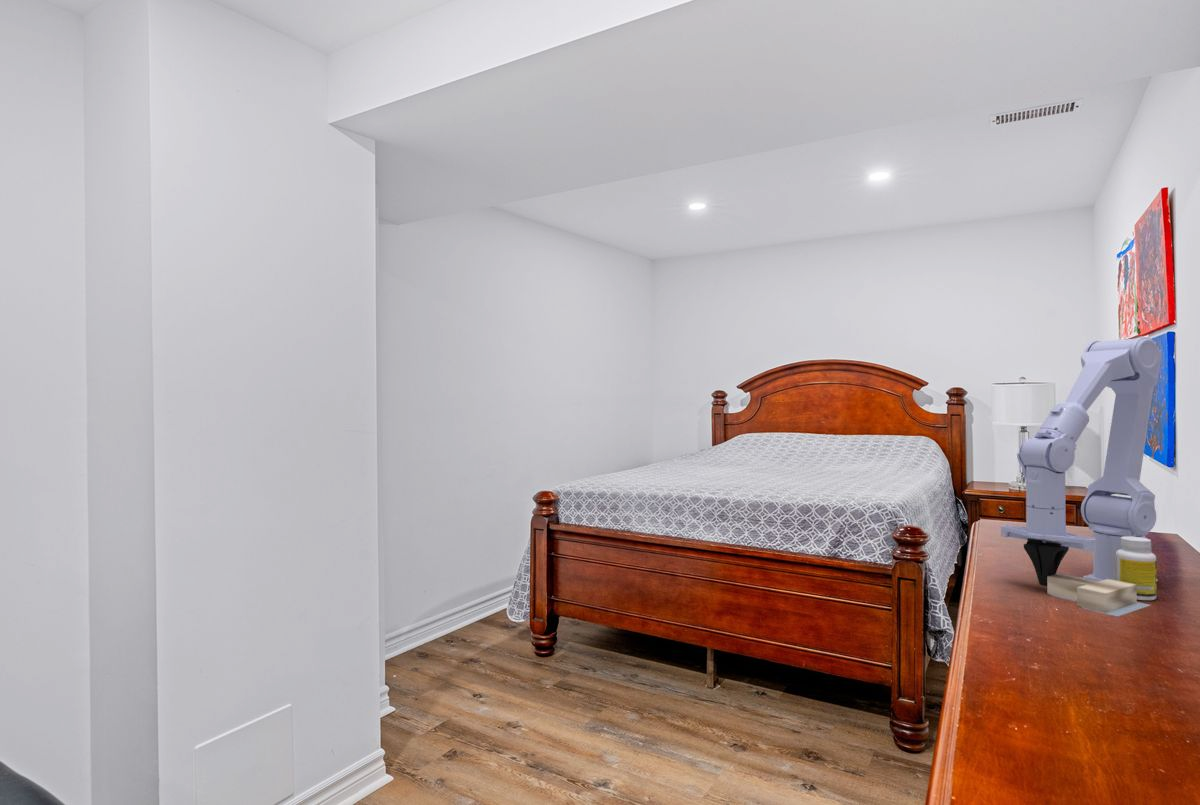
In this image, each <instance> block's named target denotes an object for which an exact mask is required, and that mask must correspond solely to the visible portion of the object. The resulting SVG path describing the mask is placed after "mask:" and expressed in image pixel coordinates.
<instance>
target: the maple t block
mask: <svg viewBox="0 0 1200 805" xmlns="http://www.w3.org/2000/svg"><path fill="white" fill-rule="evenodd" d="M1046 588H1047V590H1046V591H1047V595H1050V596H1051V595H1054V596H1058V597H1063V598H1067V599H1071V600H1076V601H1077V602H1076V606H1077V607H1078V608H1082V607H1083V608H1088V609H1092V610H1096V611H1100V612H1104V613H1106V612H1109V611H1113V610H1116V609H1119V608H1122V607H1125V606H1128V605H1131V604H1134V603H1137V602H1138V600H1137V586H1136V584H1132V583H1127V582H1122V581H1117V580H1112V579H1106V580H1102V581H1095V580H1090V579H1085V578H1083V577H1080V576H1075V575H1070V574H1066V573H1065V574H1064V573H1059V572H1058V573H1056V574H1055V575H1051V576H1047V586H1046ZM1054 596H1053V597H1054ZM1058 597H1057V598H1058ZM1067 599H1066V600H1067ZM1071 600H1070V601H1071ZM1083 608H1082V609H1083ZM1100 612H1099V613H1100ZM1104 613H1103V614H1104Z"/></svg>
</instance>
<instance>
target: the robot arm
mask: <svg viewBox="0 0 1200 805" xmlns="http://www.w3.org/2000/svg"><path fill="white" fill-rule="evenodd" d="M1083 351H1084V352H1083V353H1082V354H1081V356H1080V363H1081V366H1082V369H1081V371H1080V373H1079V374H1078V378H1076V381H1075V383H1074V385H1073V386H1072V389H1071V390H1070V392H1069V395H1068V397H1067V398H1066V400H1065V402H1063V403H1062V402H1061V403H1057V404H1055V405H1054V406H1053V407H1052V408H1051V409H1050V412H1049V413H1048V415H1047V417H1046V418H1045V420H1044V421H1043V423H1042V424H1041V426H1040V427H1039V429H1038V430H1037V432H1036V433H1035V435H1034V436H1033V437H1030V438H1028V439H1026V440H1025V441H1024V442H1023V443H1021V445H1020V447H1019V450H1018V452H1017V453H1016V456H1017V457H1016V459H1017V461H1018V463H1019V465H1020V467H1021V470H1022V476H1023V478H1024V479H1025V505H1026V506H1025V508H1026V511H1025V512H1026V513H1025V515H1026V516H1025V518H1026V520H1025V522H1026V523H1025V525H1026V526H1018V525H1009V524H1006V525H1001V526H1000V537H1003V538H1014V539H1019V540H1024V541H1026V543H1023V549H1024V550H1025V552H1026V554H1027V555H1028V557H1029V559H1030V560H1031V563H1032V565H1033V568H1034V571H1035V574H1036V577H1037V581H1038V585H1040V586H1043V587H1047V576H1051V575H1055V574H1057V573H1058V572H1057V571H1058V569H1059V567H1060V564H1061V563H1062V561H1063V559H1064V557H1065V556H1066V555H1067V553H1068V552H1069V548H1070V549H1071V548H1072V549H1079V550H1082V551H1084V552H1090V553H1091V552H1092V556H1093V557H1092V558H1093V563H1092V565H1093V566H1092V567H1093V571H1092V573H1090V574H1087V575H1083V576H1082V578H1085V579H1090V580H1095V581H1102V580H1106V579H1112V580H1116V552H1117V551H1118V550H1120V549H1122V546H1121V537H1124V536H1132V537H1142V538H1147V537H1146V536H1148V534H1149V533H1150V532H1151V531H1152V530H1153V528H1154V526H1155V525H1156V522H1157V512H1156V508H1155V500H1156V495H1155V493H1153V492H1152V491H1151V490H1150V489H1149V488H1147V486H1145V484H1143V483H1141V475H1142V469H1143V468H1142V465H1143V460H1144V454H1145V446H1146V440H1147V434H1148V426H1149V420H1150V413H1151V407H1152V400H1153V394H1154V393H1153V392H1154V387H1155V386H1157V385H1158V381H1159V375H1160V368H1161V362H1162V352H1161V351H1160V348H1158V345H1157V344H1156V342H1155V341H1154V340H1153V339H1151V338H1150V337H1147V336H1140V337H1137V338H1127V339H1114V340H1104V341H1103V340H1101V341H1100V340H1095V341H1091V342H1089V343H1088V344H1087V346H1086V347H1085V349H1084V350H1083ZM1106 387H1107V388H1110V389H1111V390H1112V391H1113V393H1114V394H1115V398H1114V402H1113V403H1114V405H1113V411H1112V416H1111V423H1110V424H1111V425H1110V430H1109V436H1108V442H1107V448H1106V453H1105V454H1106V456H1105V463H1104V468H1103V475H1102V476H1101V477H1100V478H1099V479H1097V480H1095V481H1093V482H1092V483H1090V484H1089V485H1088V487H1087V493H1086V495H1085V497H1084V499H1083V500H1082V502H1081V506H1080V513H1081V514H1080V515H1081V517H1082V520H1083V521H1084V522H1085V524H1087V525H1088V529H1089V531H1090V530H1091V531H1092V537H1089V536H1083V535H1078V534H1075V533H1070V532H1066V530H1067V528H1066V526H1067V525H1066V524H1067V522H1066V519H1067V517H1066V516H1067V514H1066V508H1067V507H1066V472H1067V471H1068V470H1070V468H1071V467H1072V466H1073V465H1074V462H1075V455H1076V454H1075V452H1076V450H1077V444H1076V443H1077V442H1078V439H1079V438H1080V437H1081V435H1082V433H1083V431H1084V430H1085V428H1086V427H1087V425H1088V424H1089V423H1090V415H1089V414H1088V412H1087V411H1088V410H1089V408H1091V406H1092V405H1093V403H1094V402H1095V401H1096V400H1097V399H1098V397H1100V395H1101V393H1103V391H1104V389H1105V388H1106ZM1118 495H1119V496H1118ZM1120 495H1122V496H1120ZM1125 496H1128V497H1125ZM1149 552H1151V553H1152V548H1151V549H1149ZM1157 582H1158V578H1156V583H1157Z"/></svg>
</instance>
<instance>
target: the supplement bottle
mask: <svg viewBox="0 0 1200 805" xmlns="http://www.w3.org/2000/svg"><path fill="white" fill-rule="evenodd" d="M1121 546H1122V549H1120V550H1118V551H1117V552H1116V580H1117V581H1122V582H1127V583H1132V584H1136V586H1137V601H1154V600H1156V599H1157V592H1158V591H1157V584H1158V583H1157V582H1156V579H1157V556H1156V555H1155V554H1154V553H1153V552H1152V551H1151V552H1149V549H1151V550H1152V540H1151V539H1149V538H1147V537H1146V538H1142V537H1132V536H1124V537H1121Z"/></svg>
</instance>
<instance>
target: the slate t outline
mask: <svg viewBox="0 0 1200 805" xmlns="http://www.w3.org/2000/svg"><path fill="white" fill-rule="evenodd" d="M1050 596H1051V597H1054V598H1059V599H1063V600H1066V601H1071V602H1075V603H1077V601H1076V600H1071V599H1067V598H1063V597H1058V596H1054V595H1050ZM1150 606H1152V604H1148V603H1143V602H1138V601H1137V603H1134V604H1131V605H1128V606H1125V607H1122V608H1119V609H1116V610H1113V611H1109V612H1106V613H1104V612H1100V611H1096V610H1092V609H1088V608H1083V607H1081V609H1084V610H1088V611H1091V612H1096V613H1100V614H1104V615H1109V616H1113V617H1117V618H1118V617H1121V616H1124V615H1127V614H1130V613H1132V612H1133V613H1134V612H1136V611H1139V610H1143V609H1144V608H1148V607H1150Z"/></svg>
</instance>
